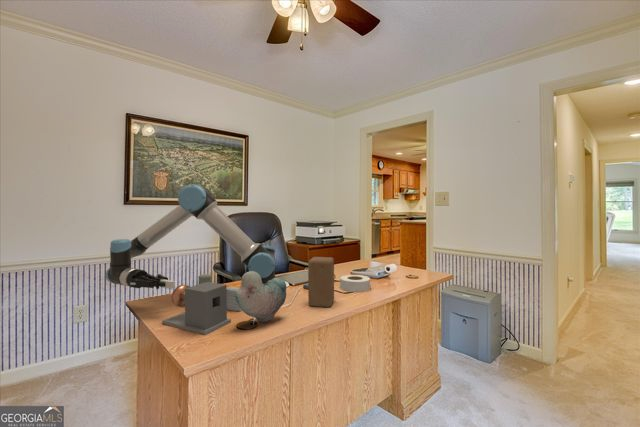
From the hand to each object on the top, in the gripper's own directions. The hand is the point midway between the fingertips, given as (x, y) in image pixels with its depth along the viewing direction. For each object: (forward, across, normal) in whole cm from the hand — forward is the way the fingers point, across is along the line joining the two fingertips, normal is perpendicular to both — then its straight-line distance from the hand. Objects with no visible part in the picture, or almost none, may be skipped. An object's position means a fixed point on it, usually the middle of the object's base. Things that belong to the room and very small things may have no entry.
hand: (172, 285), depth 115 cm
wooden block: (+45, -40, -12) cm, 61 cm away
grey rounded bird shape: (+34, -11, -13) cm, 38 cm away
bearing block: (+13, 0, -13) cm, 18 cm away
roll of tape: (+50, -70, -12) cm, 87 cm away
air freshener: (-11, -26, -13) cm, 31 cm away
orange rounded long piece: (+11, 0, -8) cm, 13 cm away
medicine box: (+15, -18, -13) cm, 27 cm away
